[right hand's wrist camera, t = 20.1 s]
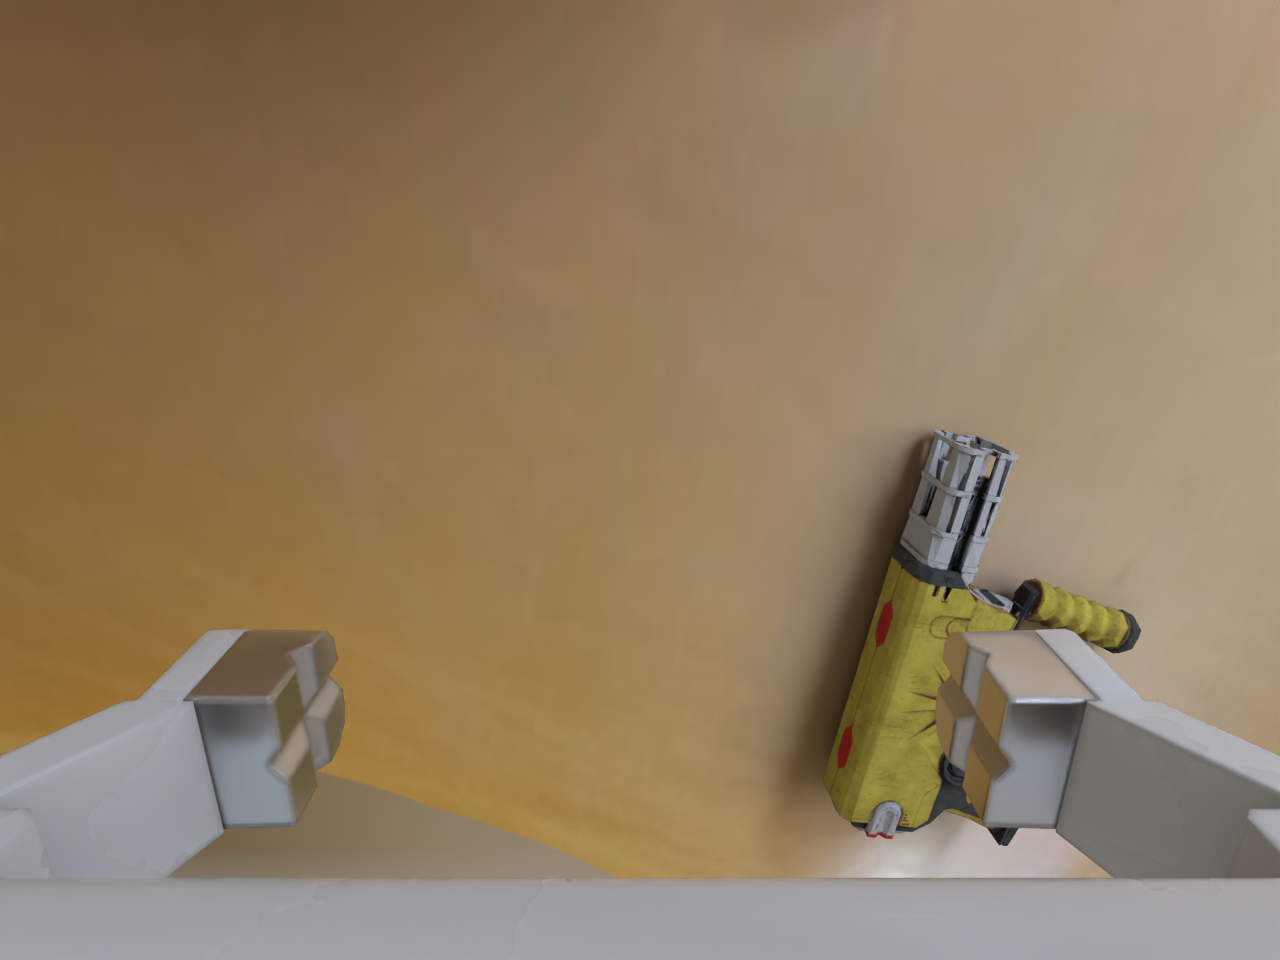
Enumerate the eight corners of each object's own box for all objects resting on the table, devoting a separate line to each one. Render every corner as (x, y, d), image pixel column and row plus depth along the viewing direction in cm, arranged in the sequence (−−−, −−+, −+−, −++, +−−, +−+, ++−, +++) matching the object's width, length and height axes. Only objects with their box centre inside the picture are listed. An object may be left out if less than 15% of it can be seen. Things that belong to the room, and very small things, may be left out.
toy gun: (1228, 492, 40) (965, 449, 38) (1066, 860, 47) (836, 842, 45) (1161, 465, 45) (922, 425, 42) (1022, 805, 52) (811, 786, 49)
